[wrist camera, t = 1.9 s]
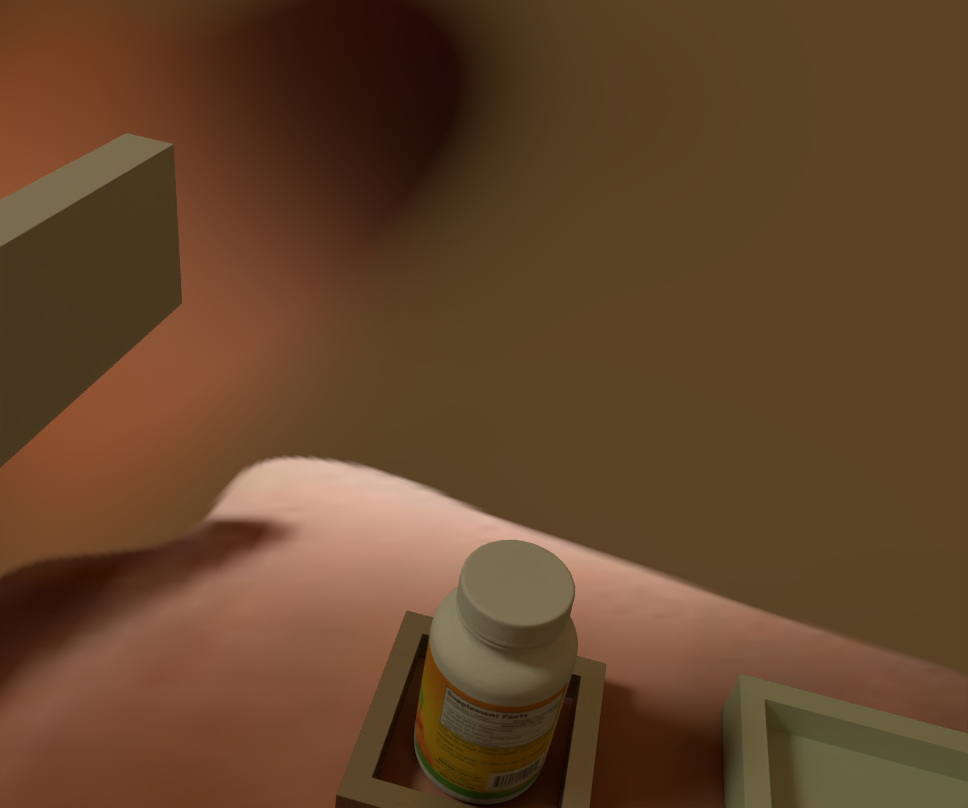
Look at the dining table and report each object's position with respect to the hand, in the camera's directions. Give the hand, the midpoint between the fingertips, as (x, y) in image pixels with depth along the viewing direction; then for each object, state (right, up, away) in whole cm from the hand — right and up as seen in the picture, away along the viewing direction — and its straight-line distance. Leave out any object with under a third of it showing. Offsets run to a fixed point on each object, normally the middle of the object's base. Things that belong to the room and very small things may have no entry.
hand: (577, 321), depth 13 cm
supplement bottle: (-2, -15, +22) cm, 27 cm away
